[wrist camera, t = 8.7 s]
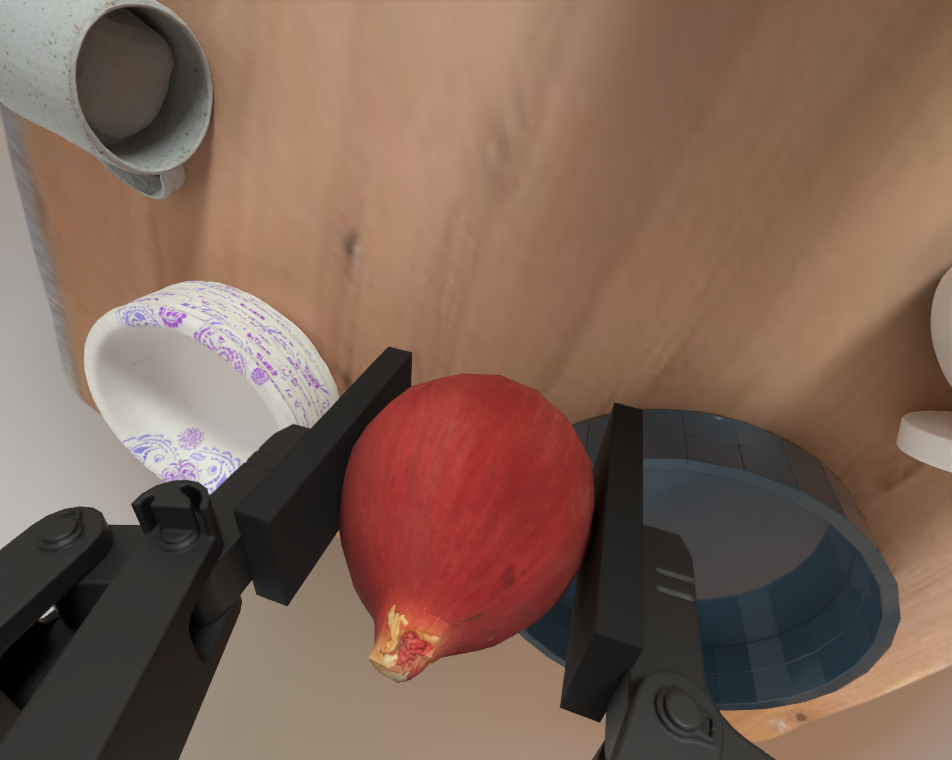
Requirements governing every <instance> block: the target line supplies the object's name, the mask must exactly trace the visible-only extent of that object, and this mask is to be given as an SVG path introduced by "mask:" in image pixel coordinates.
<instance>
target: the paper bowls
mask: <svg viewBox="0 0 952 760" xmlns="http://www.w3.org/2000/svg"><path fill="white" fill-rule="evenodd" d="M84 367H85V374H86V378H87V382H88V385H89V388H90V391H91V394H92V396H93V398H94V401H95V403H96V405H97V407H98V409H99V411H100V412H101V414H102V416H103V417H104V419H105V420H106V422H107V423H108V425H109V426H110V428H111V429H112V431H113V432H114V434H115V435H116V436H117V437H118V438H119V440H120V441H121V442H122V443H123V444H124V445H125V446H126V448H127V449H128V450H129V451H130V452H131V453H132V454H133V455H134V456H135V457H136V458H137V459H138V460H139V461H140V462H141V463H142V464H143V465H144V466H146V467H147V468H148V469H149V470H150V471H152V472H153V473H154V474H155V475H157V476H158V477H159V478H161V479H162V480H163V481H165V482H169V481H173V480H191V481H196V482H199V483H201V484H202V485H203V486H205V487H206V488H207V490H208V493H209V495H210V494H211V493H213V492H214V491H215V490H216V489H217V488H218V487H219V486H220V485H221V484H222V483H223V482H224V481H225V480H226V479H227V478H228V477H229V476H230V475H231V474H232V473H233V472H234V471H235V470H236V469H237V468H239V467H240V466H241V465H242V464H243V463H244V462H245V463H246V462H247V459H248V458H249V457H250V456H251V455H252V454H253V453H254V452H255V451H258V450H259V447H260V446H261V445H262V444H263V443H265V442H266V441H267V440H268V439H269V438H270V437H271V436H272V435H273V434H274V433H276V432H278V431H280V430H282V429H284V428H286V427H288V426H290V425H292V424H296V425H300V426H303V427H306V428H310V429H311V428H312V426H313V425H314V424H315V423H316V422H317V421H318V420H319V419H320V418H321V417H322V416H323V415H324V414H325V413H326V412H327V411H328V410H329V409H330V408H331V406H332V405H333V404H334V403H335V402H336V401H337V400H338V399H339V394H338V391H337V386H336V384H335V382H334V380H333V378H332V376H331V374H330V371H329V369H328V367H327V365H326V364H325V362H324V361H323V359H322V358H321V357H320V355H319V353H318V351H317V350H316V348H315V346H314V345H313V344H312V342H311V341H310V340H309V338H308V337H307V336H306V335H305V334H304V333H303V332H302V331H301V330H300V329H299V328H298V327H297V326H296V325H295V324H294V323H292V322H291V321H290V320H288V319H287V318H286V317H284V316H283V315H282V314H280V313H279V312H277V311H276V310H275V309H273V308H271V307H270V306H269V305H268V304H266V303H265V302H263V301H261V300H260V299H259V298H256V297H254V296H253V295H251V294H249V293H247V292H244V291H241V290H239V289H237V288H234V287H231V286H229V285H224V284H221V283H213V282H212V281H209V282H205V281H186V282H181V283H178V284H174V285H171V286H168V287H165V288H163V289H161V290H159V291H156V292H153V293H151V294H149V295H146V296H143V297H141V298H138V299H136V300H134V301H132V302H130V303H128V304H126V305H124V306H120V307H117V308H114V309H112V310H110V311H108V312H107V313H106V314H105V315H103V316H102V317H101V318H100V319H99V320H98V321H97V322H96V323H95V324H94V326H93V327H92V329H91V330H90V332H89V335H88V337H87V340H86V343H85V348H84Z"/></svg>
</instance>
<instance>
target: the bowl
mask: <svg viewBox="0 0 952 760" xmlns="http://www.w3.org/2000/svg"><path fill="white" fill-rule="evenodd" d="M610 415H611V414H607V415H603V416H599V417H596V418H592V419H588V420H584V421H582V422H579V423H577V424H574V425H572V427H573V428H574V430H575V432H576V434H577V436H578V438H579V440H580V441H581V443H582V445H583V447H584V449H585V451H586V452H587V454H588V456H589V458H590V460H591V464H592V469H593V466H594V463H595V460H596V457H597V454H598V451H599V448H600V445H601V442H602V439H603V436H604V433H605V430H606V427H607V424H608V421H609V418H610ZM643 524H644V525H647V526H651V527H654V528H657V529H661V530H664V531H668V532H671V533H675V534H678V535H681V537H682V539H683V541H684V543H685V545H686V547H687V549H688V550H689V552H690V554H691V556H692V559H693V569H694V579H695V581H694V584H695V588H696V598H697V599H696V604H697V607H698V617H699V626H700V636H701V646H702V655H703V665H704V674H705V679H706V684H707V688H708V690H709V693H710V695H711V697H712V700H713V702H714V703H715V705H716V706H717V708H718V710H725V711H727V710H755V709H768V708H773V707H779V706H785V705H791V704H797V703H802V702H806V701H809V700H811V699H814V698H817V697H820V696H823V695H826V694H829V693H832V692H835V691H837V690H838V689H841V688H842V687H844V686H846V685H847V684H849V683H851V682H852V681H854V680H855V679H857V678H859V677H860V676H862V675H864V674H865V673H867V672H868V671H869V670H870V669H871V668H872V667H873V666H874V665H875V663H876V662H877V661H878V660H879V659H880V658H881V657H882V656H883V655H884V653H885V652H886V651H887V650H888V649H889V647H891V644H892V641H893V639H894V636H895V633H896V630H897V628H898V625H899V622H900V619H901V617H900V616H901V615H900V604H899V594H898V584H897V582H896V580H895V578H894V576H893V574H892V572H891V570H890V568H889V566H888V564H887V562H886V560H885V558H884V556H883V554H882V552H881V550H880V548H879V546H878V544H877V542H876V540H875V538H874V536H873V534H872V532H871V530H870V528H869V526H868V524H867V522H866V521H865V519H864V517H863V515H862V513H861V511H860V509H859V508H858V506H857V504H856V502H855V500H854V498H853V496H852V494H851V493H850V492H849V490H848V489H847V488H846V487H845V486H844V485H843V484H842V482H841V481H840V480H839V479H838V477H836V476H835V475H834V474H833V473H832V472H831V471H830V470H829V469H828V468H827V467H826V466H825V465H824V464H822V463H821V462H820V461H819V460H818V459H816V458H815V457H813V456H812V455H810V454H809V453H807V452H806V451H805V450H803V449H802V448H800V447H799V446H797V445H795V444H793V443H791V442H789V441H787V440H786V439H784V438H782V437H780V436H778V435H776V434H774V433H772V432H769V431H766V430H764V429H761V428H759V427H756V426H753V425H751V424H748V423H745V422H741V421H737V420H734V419H730V418H726V417H722V416H719V415H712V414H706V413H700V412H693V411H683V410H665V409H656V410H643ZM577 574H578V573H577ZM577 574H576V576H575V578H574V579H573V581H572V582H571V584H570V586H569V587H568V589H567V590H566V592H565V594H564V595H563V596H562V597H561V599H560V600H559V601H558V602H557V603H556V605H555V606H554V607H553V608H552V609H551V611H549V612H548V613H547V614H546V615H544V616H543V617H542V618H541V619H539V620H538V621H537V622H536V623H535V624H533V625H531V626H529V627H528V628H526V629H524V630H522V631H521V632H519V634H520V635H521V636H522V637H524V639H525V640H527V641H528V642H529V643H531V644H532V645H533V646H534V647H536V648H537V649H538V650H540V651H541V652H542V653H543V654H545V655H546V656H547V657H549V658H550V659H552V660H554V661H555V662H557V663H559V664H560V665H562V666H564V667H565V666H566V658H567V651H568V643H569V635H570V628H571V620H572V613H573V605H574V597H575V590H576V582H577Z"/></svg>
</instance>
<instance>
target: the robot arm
mask: <svg viewBox="0 0 952 760" xmlns="http://www.w3.org/2000/svg"><path fill="white" fill-rule="evenodd" d="M411 372H412V352H408V351H404V350H400V349H396V348H392V347H388V348H387V349H386V350H385V351H384V352H383V353H382V354H381V355H380V356H379V357H378V358H377V359H376V360H375V361H374V362H373V363H372V364H371V365H370V366H369V368H368V369H367V370H366V371H365V372H364V373H363V374H362V375H361V376H360V377H359V378H358V379H357V380H356V381H355V382H354V383H353V384H352V385H351V386H350V388H349V389H348V390H347V391H346V392H345V393H344V394H343V395H342V396H341V397H340V398H339V399H338V400H337V401H336V402H335V403H334V404H333V405H332V406H331V408H330V409H329V410H328V411H327V412H326V413H325V414H324V415H323V416H322V417H321V418H320V419H319V420H318V421H317V422H316V423H315V424H314V425H313V426H312V428H311V429H310V428H306V427H303V426H300V425H296V424H292V425H290V426H288V427H286V428H284V429H282V430H280V431H278V432H276V433H274V434H273V435H272V436H271V437H270V438H269V439H268V440H267V441H266V442H265V443H263V444H262V445H261V446H260V447H259V450H258V451H255V452H254V453H253V454H252V455H251V456H250V457H249V458H248V459H247V462H246V463H245V462H244V463H243V464H242V465H241V466H240V467H239V468H237V469H236V470H235V471H234V472H233V473H232V474H231V475H230V476H229V477H228V478H227V479H226V480H225V481H224V482H223V483H222V484H221V485H220V486H219V487H218V488H217V489H216V490H215V491H214V492H213V493H211V494H210V495H209V493H208V490H207V488H206V487H205V486H203V485H202V484H201V483H199V482H196V481H191V480H173V481H169V482H166V483H163V484H159V485H156V486H155V487H153V488H151V489H149V490H147V491H146V492H144V493H142V494H141V495H140V496H139V497H138V498H137V499H136V500H135V501H134V502H133V503H132V504H131V505H132V507H133V509H134V512H135V514H136V516H137V518H138V521H139V523H140V525H108V524H107V522H106V520H105V518H104V516H103V514H102V513H101V512H99V511H98V510H96V509H94V508H91V507H74V508H68V509H63V510H61V511H58V512H55V513H53V514H50V515H48V516H46V517H44V518H43V519H41V520H40V521H38V522H36V523H35V524H33V525H32V526H30V527H29V528H28V529H26V530H25V531H24V532H23V533H21V534H20V535H19V536H18V537H16V538H15V539H14V540H12V541H11V542H10V543H9V544H7V545H6V546H5V547H3V548H2V549H1V550H0V760H179V758H180V755H181V753H182V750H183V748H184V745H185V743H186V741H187V738H188V736H189V734H190V731H191V729H192V726H193V724H194V722H195V719H196V717H197V714H198V712H199V710H200V707H201V705H202V702H203V700H204V698H205V695H206V692H207V690H208V688H209V686H210V683H211V681H212V678H213V676H214V673H215V671H216V669H217V666H218V664H219V662H220V659H221V657H222V654H223V652H224V650H225V647H226V645H227V642H228V640H229V638H230V635H231V633H232V630H233V628H234V626H235V623H236V621H237V618H238V615H239V614H240V610H241V605H242V599H241V596H240V595H241V593H242V592H243V591H244V589H245V588H246V587H247V586H248V584H249V583H250V582H251V581H252V580H253V584H254V587H255V591H256V594H257V595H259V596H261V597H264V598H267V599H269V600H272V601H275V602H278V603H280V604H283V605H286V606H288V605H289V603H290V602H291V600H292V599H293V597H294V596H295V594H296V593H297V591H298V590H299V588H300V587H301V585H302V584H303V582H304V581H305V579H306V578H307V576H308V575H309V573H310V572H311V570H312V569H313V568H314V566H315V565H316V563H317V562H318V560H319V559H320V557H321V556H322V554H323V553H324V551H325V550H326V548H327V547H328V545H329V544H330V542H331V541H332V539H333V538H334V536H335V535H336V533H337V532H338V530H339V508H340V499H341V494H342V488H343V482H344V477H345V472H346V468H347V465H348V462H349V458H350V455H351V451H352V448H353V447H354V445H355V443H356V442H357V440H358V439H359V437H360V436H361V434H362V432H363V431H364V429H365V428H366V426H367V425H368V424H369V423H370V422H371V421H372V420H373V419H374V418H375V417H376V416H377V415H378V414H379V413H380V412H381V411H382V410H383V409H384V408H385V407H386V406H387V405H388V404H389V403H390V402H391V401H393V400H394V399H395V398H397V397H398V396H399V395H401V394H402V393H403V392H405V391H406V390H407V389H409V388H410V387H411ZM592 473H593V482H594V505H595V521H594V528H593V535H592V541H591V546H590V549H589V551H588V553H587V555H586V557H585V559H584V561H583V564H582V566H581V568H580V570H579V571H578V574H577V582H576V590H575V597H574V605H573V613H572V620H571V628H570V635H569V643H568V651H567V658H566V666H565V674H564V682H563V689H562V697H561V704H560V708H562V709H565V710H568V711H570V712H573V713H576V714H578V715H581V716H584V717H587V718H589V719H592V720H594V721H597V722H600V721H601V720H602V718H603V716H604V714H605V713H606V728H605V740H604V742H603V744H602V745H601V747H600V748H599V750H598V751H597V753H596V755H595V756H594V758H593V759H592V760H775V759H774V758H772V757H771V756H770V755H768V754H767V753H765V752H764V751H763V750H761V749H760V748H758V747H757V746H755V745H754V744H753V743H751V742H750V741H748V740H747V739H746V738H745V737H743V736H742V735H741V734H740V733H739V732H737V731H736V730H735V729H734V728H733V727H732V726H731V725H730V724H729V722H728V721H727V720H726V719H725V718H724V717H723V716H722V714H721V713H720V711H719V710H718V708H717V706H716V705H715V703H714V702H713V700H712V697H711V695H710V693H709V690H708V688H707V684H706V679H705V674H704V665H703V655H702V646H701V636H700V626H699V617H698V607H697V604H696V599H697V598H696V588H695V584H694V581H695V579H694V569H693V559H692V556H691V554H690V552H689V550H688V549H687V547H686V545H685V543H684V541H683V539H682V537H681V535H678V534H675V533H671V532H668V531H664V530H661V529H657V528H654V527H651V526H647V525H644V524H643V410H642V409H638V408H634V407H630V406H626V405H622V404H618V403H614V406H613V409H612V412H611V415H610V418H609V421H608V424H607V427H606V430H605V433H604V436H603V439H602V442H601V445H600V448H599V451H598V454H597V457H596V460H595V463H594V466H593V469H592ZM51 607H53V608H54V611H52V612H51V613H50V614H48V615H47V616H45V617H44V618H41V619H39V618H40V617H41V616H43V615H44V614H45V613H46V612H47V611H48V610H49V609H50V608H51Z"/></svg>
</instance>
